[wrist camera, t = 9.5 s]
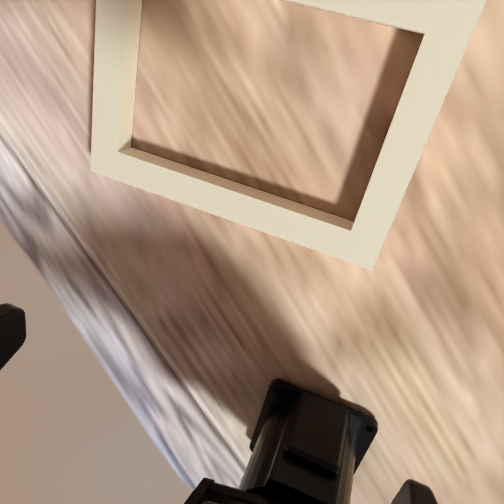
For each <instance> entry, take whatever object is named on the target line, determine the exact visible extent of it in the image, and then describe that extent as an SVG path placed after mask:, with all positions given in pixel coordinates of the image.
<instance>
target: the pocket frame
mask: <svg viewBox="0 0 504 504" xmlns="http://www.w3.org/2000/svg"><path fill="white" fill-rule="evenodd" d="M284 1H288V2H292V3H296V4H300V5H304V6H308V7H312V8H317V9H321V10H325V11H329V12H333V13H337V14H341V15H345V16H349V17H353V18H358V19H362V20H366V21H370V22H374V23H378V24H382V25H386V26H390V27H394V28H399V29H403V30H407V31H411V32H415V33H419V34H423V35H424V36H423V38H422V41H421V44H420V46H419V49H418V52H417V54H416V57H415V60H414V62H413V65H412V68H411V70H410V73H409V76H408V78H407V81H406V84H405V86H404V89H403V92H402V94H401V97H400V100H399V103H398V105H397V108H396V111H395V113H394V116H393V119H392V121H391V124H390V127H389V129H388V132H387V135H386V137H385V140H384V143H383V145H382V148H381V151H380V153H379V156H378V159H377V161H376V164H375V167H374V169H373V172H372V175H371V177H370V180H369V183H368V185H367V188H366V191H365V194H364V196H363V199H362V202H361V204H360V207H359V210H358V212H357V215H356V218H355V220H354V221H351V220H348V219H345V218H342V217H339V216H336V215H333V214H330V213H327V212H324V211H321V210H318V209H315V208H312V207H309V206H306V205H303V204H300V203H297V202H294V201H291V200H288V199H285V198H282V197H279V196H276V195H273V194H270V193H267V192H264V191H261V190H258V189H255V188H252V187H249V186H246V185H243V184H240V183H237V182H234V181H231V180H228V179H225V178H222V177H219V176H216V175H213V174H210V173H207V172H204V171H201V170H198V169H195V168H192V167H189V166H186V165H183V164H180V163H177V162H174V161H171V160H168V159H165V158H162V157H159V156H156V155H153V154H150V153H147V152H144V151H141V150H138V149H135V148H132V147H131V138H132V126H133V113H134V100H135V88H136V75H137V63H138V50H139V37H140V25H141V12H142V0H96V17H95V48H94V78H93V109H92V139H91V170H90V171H91V172H94V173H97V174H100V175H103V176H106V177H108V178H111V179H114V180H117V181H120V182H123V183H125V184H128V185H131V186H134V187H137V188H140V189H142V190H145V191H148V192H151V193H154V194H157V195H159V196H162V197H165V198H168V199H171V200H174V201H176V202H179V203H182V204H185V205H188V206H191V207H193V208H196V209H199V210H202V211H205V212H208V213H210V214H213V215H216V216H219V217H222V218H225V219H228V220H230V221H233V222H236V223H239V224H242V225H245V226H247V227H250V228H253V229H256V230H259V231H262V232H264V233H267V234H270V235H273V236H276V237H279V238H281V239H284V240H287V241H290V242H293V243H296V244H298V245H301V246H304V247H307V248H310V249H313V250H315V251H318V252H321V253H324V254H327V255H330V256H332V257H335V258H338V259H341V260H344V261H347V262H349V263H352V264H355V265H358V266H361V267H364V268H366V269H369V270H373V267H374V265H375V262H376V260H377V258H378V255H379V253H380V251H381V248H382V246H383V244H384V241H385V239H386V236H387V234H388V232H389V229H390V227H391V225H392V222H393V220H394V218H395V215H396V213H397V210H398V208H399V206H400V203H401V201H402V199H403V196H404V194H405V192H406V189H407V187H408V185H409V182H410V180H411V177H412V175H413V173H414V170H415V168H416V166H417V163H418V161H419V159H420V156H421V154H422V151H423V149H424V147H425V144H426V142H427V140H428V137H429V135H430V133H431V130H432V128H433V125H434V123H435V121H436V118H437V116H438V114H439V111H440V109H441V107H442V104H443V102H444V99H445V97H446V95H447V92H448V90H449V88H450V85H451V83H452V81H453V78H454V76H455V74H456V71H457V69H458V66H459V64H460V62H461V59H462V57H463V55H464V52H465V50H466V48H467V45H468V43H469V40H470V38H471V36H472V33H473V31H474V29H475V26H476V24H477V22H478V19H479V17H480V14H481V12H482V10H483V7H484V5H485V3H486V0H284Z"/></svg>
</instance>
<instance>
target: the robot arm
mask: <svg viewBox="0 0 504 504" xmlns="http://www.w3.org/2000/svg"><path fill="white" fill-rule="evenodd" d="M25 321H26V320H25V312H24V311H23V309H21V308H18V307H16V306H14V305H12V304H8V303H6V304H1V305H0V370H1V369H2V368H3V367H4V365H5V364H6V363H7V362H8V361H9V359H11V358H12V357H13V355H14V354H15V353H16V352H17V351H18V350H19V349H20V347H21V346H22V345H23V343H24V341H25V339H26V322H25ZM276 387H279V388H280V389H278V388H276ZM366 425H369V426H371V427H368V426H366ZM377 431H378V423H377V421H376V420H375V419H374V418H372V417H370V416H367V415H365V414H362V413H360V412H358V411H355V410H353V409H350V408H348V407H346V406H343V405H341V404H338V403H336V402H334V401H331V400H329V399H326V398H324V397H322V396H319V395H317V394H314V393H312V392H310V391H307V390H305V389H302V388H300V387H298V386H295V385H293V384H290V383H288V382H286V381H283V380H281V379H274V380H273V381H272V382H271V384H270V387H269V390H268V393H267V396H266V398H265V401H264V404H263V407H262V410H261V413H260V416H259V419H258V422H257V425H256V428H255V431H254V434H253V437H252V440H251V443H250V450H251V451H252V452H253V453H252V455H251V458H250V460H249V463H248V465H247V468H246V471H245V473H244V476H243V478H242V481H241V483H240V486H239V489H237V488H233V487H230V486H226V485H223V484H219V483H215V482H214V480H212V479H208V478H203V479H202V481H201V482H200V483H199V485H198V486H197V488H196V489H195V490H194V491H193V492H192V493H191V495H190V496H189V498H188V499H187V500H186V502H185V503H184V504H350V497H351V490H352V482H353V475H354V473H355V471H356V470H357V468H358V466H359V464H360V462H361V461H362V459H363V457H364V455H365V453H366V452H367V450H368V448H369V446H370V444H371V442H372V441H373V439H374V437H375V435H376V433H377ZM391 504H438V503H437V501H436V499H435V496H434V494H433V492H432V490H431V489H430V488H429V487H428V486H426V485H424V484H422V483H419V482H417V481H415V480H413V479H408V480H407V481H406V482H405V483H404V484H403V486H402V487H401V489H400V490H399V492H398V493H397V495H396V496H395V498H394V499H393V501H392V503H391Z"/></svg>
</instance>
